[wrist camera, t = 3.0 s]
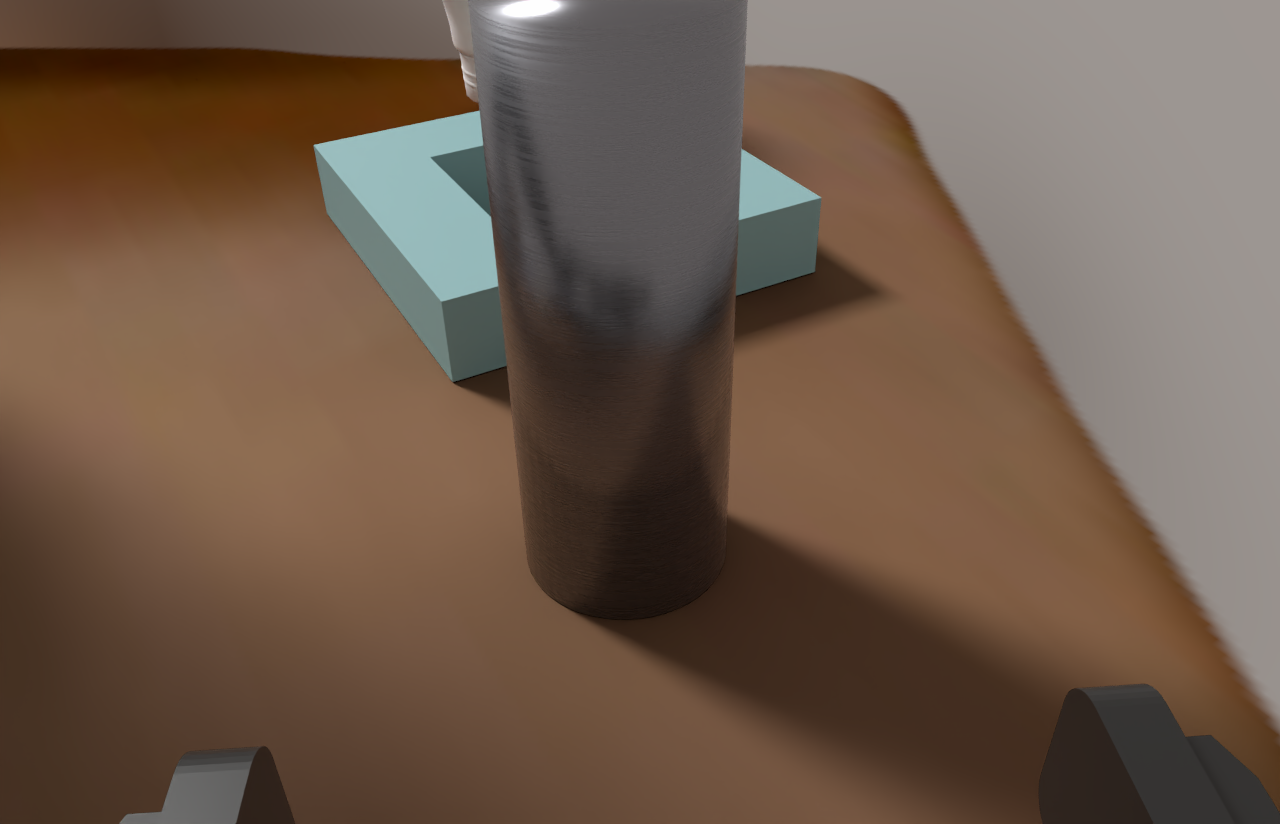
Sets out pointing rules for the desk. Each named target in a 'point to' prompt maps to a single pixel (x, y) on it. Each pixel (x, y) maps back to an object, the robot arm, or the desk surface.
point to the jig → (463, 239)
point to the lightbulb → (463, 42)
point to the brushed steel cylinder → (617, 284)
